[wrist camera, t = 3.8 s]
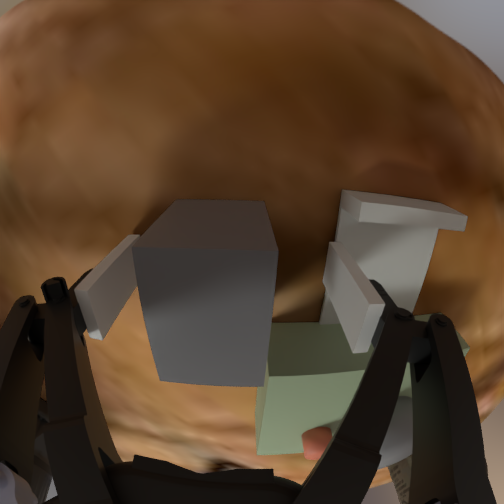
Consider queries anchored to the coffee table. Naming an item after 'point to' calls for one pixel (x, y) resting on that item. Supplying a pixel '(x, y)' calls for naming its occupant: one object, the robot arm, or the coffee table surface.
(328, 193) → the coffee table surface
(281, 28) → the coffee table surface
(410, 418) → the green base with dome
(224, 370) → the tall grey cuboid
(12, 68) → the coffee table surface
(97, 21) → the coffee table surface
